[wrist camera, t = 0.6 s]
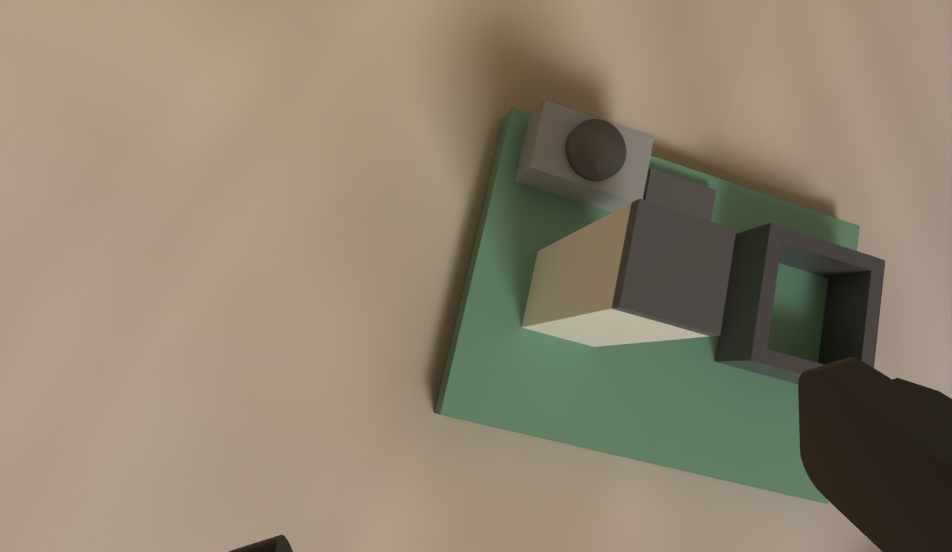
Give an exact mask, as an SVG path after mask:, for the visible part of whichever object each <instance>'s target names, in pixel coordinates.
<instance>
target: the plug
mask: <svg viewBox="0 0 952 552" xmlns="http://www.w3.org/2000/svg"><path fill="white" fill-rule="evenodd" d="M735 235H736V229H733V228H729V227H726V226H723V225H720V224H717V223H714V222H711V221H708V220H705V219H702V218H699V217H695V216H692V215H689V214H686V213H683V212H680V211H677V210H674V209H671V208H668V207H664V206H661V205H658V204H655V203H652V202H649V201H646V200H643V199H640V198H639V199H637V200H635V201H634V202H632V203H630V204H628V205H626V206H624V207H622V208H620V209H618V210H616V211H614V212H612V213H610V214H609V215H607V216H605V217H603V218H601V219H599V220H597V221H595V222H593V223H591V224H589V225H587V226H585V227H583V228H582V229H580V230H578V231H576V232H574V233H572V234H570V235H568V236H566V237H564V238H562V239H560V240H558V241H556V242H555V243H553V244H551V245H549V246H547V247H545V248H543V249H541V250H539V251H538V253H537V257H536V262H535V267H534V271H533V276H532V280H531V285H530V290H529V294H528V299H527V304H526V308H525V313H524V318H523V322H522V327H521V328H525V329H529V330H533V331H536V332H540V333H544V334H548V335H551V336H555V337H559V338H563V339H566V340H570V341H574V342H578V343H581V344H585V345H589V346H593V347H599V346H610V345H621V344H632V343H643V342H654V341H665V340H676V339H687V338H698V337H709V336H720V333H721V326H722V320H723V313H724V307H725V300H726V294H727V287H728V281H729V274H730V268H731V261H732V255H733V248H734V242H735Z"/></svg>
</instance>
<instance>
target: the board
mask: <svg viewBox="0 0 952 552" xmlns="http://www.w3.org/2000/svg"><path fill="white" fill-rule="evenodd" d="M653 141H654V137H652V136H649V135H647V134H644V133H641V132H638V131H635V130H632V129H629V128H626V127H624V126H621V125H618V124H615V123H612V122H609V121H606V120H603V119H600V118H598V117H595V116H592V115H589V114H586V113H583V112H580V111H577V110H574V109H572V108H569V107H566V106H563V105H560V104H557V103H554V102H551V101H548V100H546V99H545V100H544V101H543V102H542V104H541V105H540V106H539V107H538V108H537V109H536V110H535V111H534V113H533V114H532V115H531V114H528V113H525V112H522V111H519V110H516V109H513V108H512V109H511V110H510V111H509V113H508V114H507V115H506V116H505V118H504V119H503V124H502V128H501V132H500V136H499V141H498V145H497V149H496V153H495V158H494V162H493V166H492V170H491V174H490V179H489V183H488V187H487V191H486V196H485V200H484V204H483V208H482V213H481V217H480V221H479V225H478V229H477V234H476V238H475V242H474V246H473V251H472V255H471V259H470V263H469V268H468V272H467V276H466V280H465V284H464V289H463V293H462V297H461V301H460V306H459V310H458V314H457V318H456V322H455V327H454V331H453V335H452V339H451V344H450V348H449V352H448V356H447V361H446V365H445V369H444V373H443V377H442V382H441V386H440V390H439V394H438V399H437V403H436V407H435V411H434V413H437V414H440V415H444V416H449V417H453V418H457V419H462V420H466V421H470V422H475V423H479V424H483V425H488V426H492V427H496V428H501V429H505V430H509V431H514V432H518V433H522V434H527V435H531V436H535V437H540V438H544V439H548V440H553V441H557V442H561V443H566V444H570V445H574V446H579V447H583V448H588V449H592V450H596V451H601V452H605V453H609V454H614V455H618V456H622V457H627V458H631V459H635V460H640V461H644V462H648V463H653V464H657V465H661V466H666V467H670V468H674V469H679V470H683V471H687V472H692V473H696V474H700V475H705V476H709V477H713V478H718V479H722V480H726V481H731V482H735V483H739V484H744V485H748V486H752V487H757V488H761V489H765V490H770V491H774V492H778V493H783V494H787V495H791V496H796V497H800V498H804V499H809V500H813V501H817V502H822V503H826V504H828V500H827V499H826V498H825V497H824V496H823V495H822V494H821V493H820V492H819V491H818V490H817V488H816V487H815V486H814V484H813V483H812V482H811V480H810V478H809V477H808V475H807V473H806V471H805V468H804V466H803V463H802V459H801V455H800V435H799V400H798V381H799V377H800V375H801V374H802V373H803V372H804V371H807V370H810V369H813V368H816V367H819V366H823V365H826V364H829V363H832V362H835V361H838V360H842V359H845V358H849V357H853V358H857V359H859V360H861V361H863V362H865V363H866V364H868V365H869V366H871V367H873V368H874V362H875V352H876V343H877V333H878V324H879V314H880V305H881V295H882V286H883V276H884V267H885V260H882V259H879V258H876V257H873V256H870V255H867V254H864V253H861V252H858V251H857V245H858V236H859V227H860V226H858V225H855V224H852V223H849V222H846V221H843V220H840V219H837V218H834V217H831V216H828V215H825V214H822V213H820V212H817V211H814V210H811V209H808V208H805V207H802V206H799V205H796V204H793V203H790V202H787V201H784V200H781V199H778V198H775V197H772V196H769V195H767V194H764V193H761V192H758V191H755V190H752V189H749V188H746V187H743V186H740V185H737V184H734V183H731V182H728V181H725V180H722V179H719V178H717V177H714V176H711V175H708V174H705V173H702V172H699V171H696V170H693V169H690V168H687V167H684V166H681V165H678V164H675V163H672V162H669V161H666V160H664V159H661V158H658V157H655V156H652V155H651V152H652V146H653ZM639 198H640V199H643V200H646V201H649V202H652V203H655V204H658V205H661V206H664V207H668V208H671V209H674V210H677V211H680V212H683V213H686V214H689V215H692V216H695V217H699V218H702V219H705V220H708V221H711V222H714V223H717V224H720V225H723V226H726V227H729V228H733V229H736V235H735V242H734V248H733V255H732V261H731V268H730V274H729V281H728V287H727V294H726V300H725V307H724V313H723V320H722V326H721V333H720V336H709V337H698V338H687V339H676V340H665V341H654V342H643V343H632V344H621V345H610V346H599V347H593V346H589V345H585V344H581V343H578V342H574V341H570V340H566V339H563V338H559V337H555V336H551V335H548V334H544V333H540V332H536V331H533V330H529V329H525V328H521V327H522V322H523V318H524V313H525V308H526V304H527V299H528V294H529V290H530V285H531V280H532V276H533V271H534V267H535V262H536V257H537V253H538V251H539V250H541V249H543V248H545V247H547V246H549V245H551V244H553V243H555V242H556V241H558V240H560V239H562V238H564V237H566V236H568V235H570V234H572V233H574V232H576V231H578V230H580V229H582V228H583V227H585V226H587V225H589V224H591V223H593V222H595V221H597V220H599V219H601V218H603V217H605V216H607V215H609V214H610V213H612V212H614V211H616V210H618V209H620V208H622V207H624V206H626V205H628V204H630V203H632V202H634V201H635V200H637V199H639Z"/></svg>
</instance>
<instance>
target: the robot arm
mask: <svg viewBox="0 0 952 552" xmlns="http://www.w3.org/2000/svg"><path fill="white" fill-rule="evenodd" d="M798 400H799V435H800V455H801V459H802V463H803V466H804V468H805V471H806V473H807V475H808V477H809V478H810V480H811V482H812V483H813V484H814V486H815V487H816V488H817V490H818V491H819V492H820V493H821V494H822V495H823V496H824V497H825V498H826V499H827V500H829V501H830V502H831V503H832V504H833V505H834V506H835V507H836V508H837V509H838V510H839V511H840V512H841V513H842V514H843V515H844V516H845V517H846V518H848V519H849V520H850V521H851V522H852V523H853V524H854V525H855V526H856V527H857V528H858V529H859V530H860V531H861V532H862V533H863V534H864V535H865V536H867V537H868V538H869V539H870V540H871V541H872V542H873V543H874V544H875V545H876V546H877V547H878V548H879V549H880V550H881V551H882V552H952V399H951V398H949V397H948V396H946V395H944V394H943V393H941V392H939V391H936V390H933V389H930V388H927V387H924V386H921V385H918V384H915V383H912V382H909V381H906V380H902V379H899V378H896V379H893V380H892V379H890V378H889V377H887V376H885V375H884V374H882V373H881V372H879V371H877V370H876V369H874V368H873V367H871V366H869V365H868V364H866V363H865V362H863V361H861V360H859V359H857V358H853V357H849V358H845V359H842V360H838V361H835V362H832V363H829V364H826V365H823V366H819V367H816V368H813V369H810V370H807V371H804V372H803V373H802V374H801V375H800V377H799V381H798ZM229 552H293V551H292V548H291V546H290V544H289V542H288V540H287V539H286V537H285V536H283V535H279V536H276V537H273V538H270V539H266V540H263V541H260V542H257V543H254V544H251V545H247V546H244V547H241V548H238V549H235V550H232V551H229Z"/></svg>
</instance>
